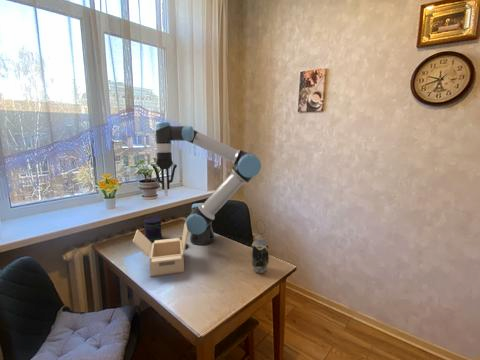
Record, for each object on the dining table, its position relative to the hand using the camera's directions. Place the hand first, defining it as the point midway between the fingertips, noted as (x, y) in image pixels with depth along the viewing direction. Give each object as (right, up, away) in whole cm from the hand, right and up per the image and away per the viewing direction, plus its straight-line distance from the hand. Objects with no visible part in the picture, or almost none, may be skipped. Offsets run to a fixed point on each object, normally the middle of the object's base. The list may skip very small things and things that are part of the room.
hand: (166, 195), depth 136 cm
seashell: (+4, -32, +6) cm, 33 cm away
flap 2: (+12, -20, -11) cm, 26 cm away
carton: (+4, -35, -11) cm, 37 cm away
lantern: (+50, -35, -15) cm, 63 cm away
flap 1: (-6, -22, -16) cm, 28 cm away
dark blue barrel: (-12, -30, +16) cm, 37 cm away
